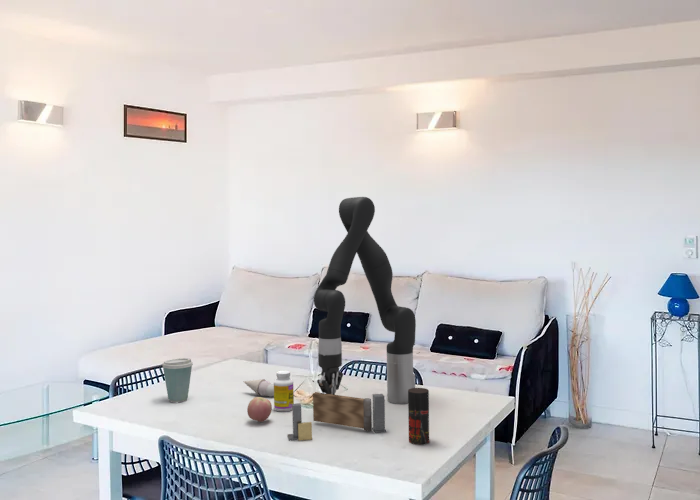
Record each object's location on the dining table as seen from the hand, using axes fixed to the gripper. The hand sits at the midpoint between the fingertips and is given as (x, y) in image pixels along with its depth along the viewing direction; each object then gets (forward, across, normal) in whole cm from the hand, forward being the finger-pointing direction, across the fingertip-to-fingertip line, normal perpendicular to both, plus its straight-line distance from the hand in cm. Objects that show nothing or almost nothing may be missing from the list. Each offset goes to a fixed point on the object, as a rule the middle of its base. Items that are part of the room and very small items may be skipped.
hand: (330, 404), depth 219 cm
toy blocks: (+5, +19, 0) cm, 20 cm away
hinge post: (+5, +3, +19) cm, 20 cm away
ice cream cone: (+5, -14, -39) cm, 41 cm away
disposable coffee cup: (+5, +4, -61) cm, 62 cm away
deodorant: (+5, +6, +33) cm, 34 cm away
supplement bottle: (+5, -3, -20) cm, 21 cm away
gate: (+4, +5, +7) cm, 10 cm away
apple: (+5, +12, -20) cm, 23 cm away
